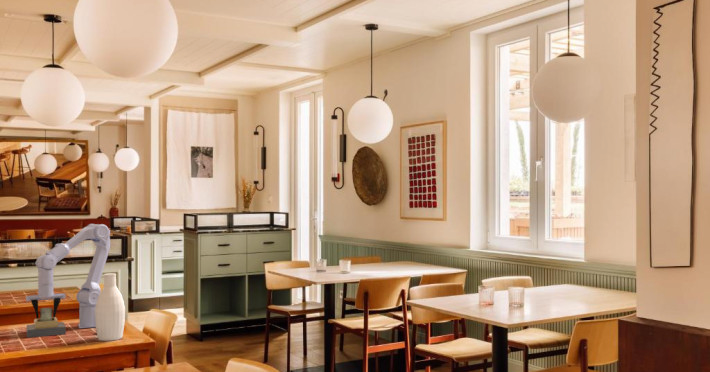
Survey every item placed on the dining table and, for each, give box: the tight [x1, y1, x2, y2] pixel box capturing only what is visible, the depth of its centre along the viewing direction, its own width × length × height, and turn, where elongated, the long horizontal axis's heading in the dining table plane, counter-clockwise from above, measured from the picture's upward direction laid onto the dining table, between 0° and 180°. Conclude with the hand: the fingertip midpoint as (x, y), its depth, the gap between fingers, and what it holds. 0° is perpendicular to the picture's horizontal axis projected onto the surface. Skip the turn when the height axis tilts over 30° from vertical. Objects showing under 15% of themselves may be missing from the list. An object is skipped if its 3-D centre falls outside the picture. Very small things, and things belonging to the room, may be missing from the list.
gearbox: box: [26, 316, 67, 338], centre depth 278 cm, size 14×12×6 cm
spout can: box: [39, 307, 53, 322], centre depth 278 cm, size 4×6×7 cm
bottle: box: [95, 272, 126, 342], centre depth 267 cm, size 11×11×25 cm
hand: (45, 317), depth 279 cm, fingers open, 6 cm apart
